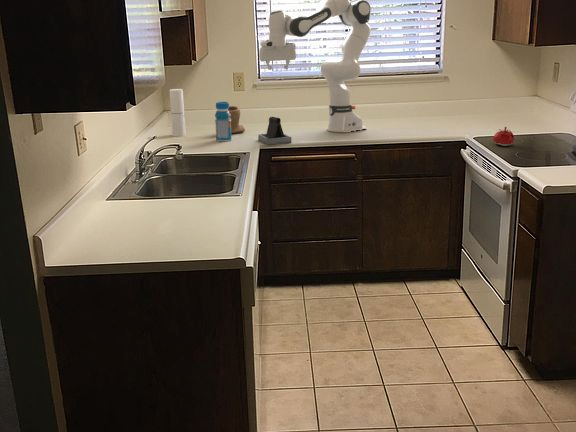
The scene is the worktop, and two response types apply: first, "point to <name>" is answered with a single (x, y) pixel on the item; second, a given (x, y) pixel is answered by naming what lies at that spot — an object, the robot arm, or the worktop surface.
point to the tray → (274, 139)
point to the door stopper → (274, 128)
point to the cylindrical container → (177, 112)
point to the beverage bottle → (223, 122)
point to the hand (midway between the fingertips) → (278, 69)
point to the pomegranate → (504, 137)
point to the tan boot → (235, 120)
